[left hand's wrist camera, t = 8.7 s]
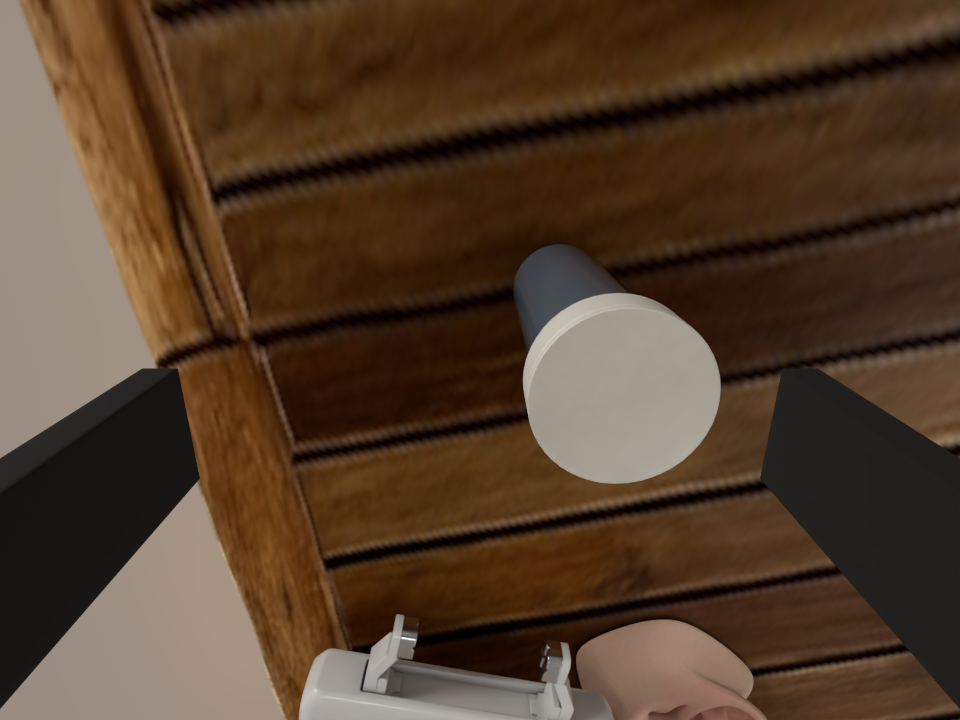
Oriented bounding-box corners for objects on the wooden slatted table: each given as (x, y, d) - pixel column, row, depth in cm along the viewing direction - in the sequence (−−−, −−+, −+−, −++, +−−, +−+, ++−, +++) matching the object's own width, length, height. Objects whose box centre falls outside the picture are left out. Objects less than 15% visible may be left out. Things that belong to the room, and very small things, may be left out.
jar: (611, 250, 32) (721, 329, 17) (593, 337, 34) (678, 473, 19) (520, 238, 32) (555, 307, 17) (506, 326, 33) (528, 456, 19)
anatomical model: (555, 713, 39) (694, 631, 36) (548, 664, 43) (674, 586, 40) (662, 808, 42) (796, 739, 40) (647, 756, 46) (768, 689, 43)
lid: (719, 305, 19) (745, 321, 17) (673, 463, 21) (692, 493, 19) (538, 281, 18) (545, 295, 17) (510, 445, 21) (513, 473, 19)
